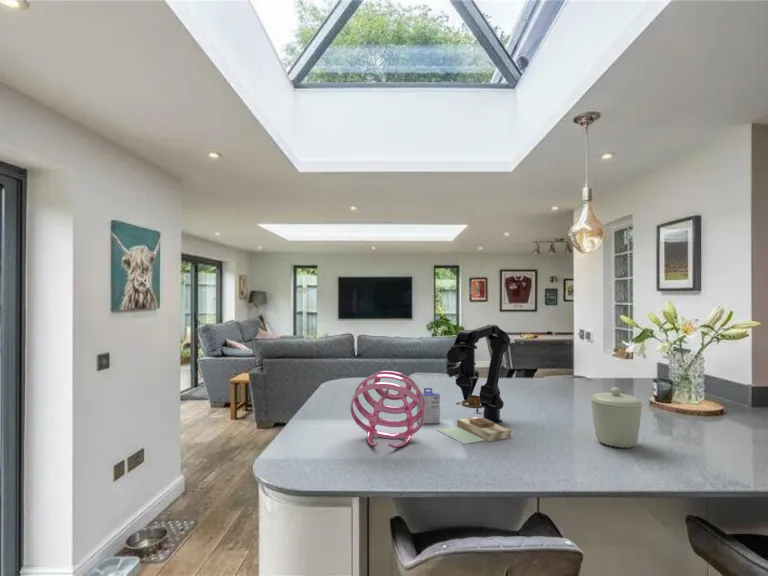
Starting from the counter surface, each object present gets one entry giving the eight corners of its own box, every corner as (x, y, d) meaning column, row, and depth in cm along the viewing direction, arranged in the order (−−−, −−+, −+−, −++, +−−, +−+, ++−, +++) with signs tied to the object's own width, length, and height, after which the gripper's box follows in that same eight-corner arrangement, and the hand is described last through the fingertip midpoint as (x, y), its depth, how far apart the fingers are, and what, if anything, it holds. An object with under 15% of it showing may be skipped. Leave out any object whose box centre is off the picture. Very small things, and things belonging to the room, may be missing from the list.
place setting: (494, 406, 215) (494, 394, 215) (480, 415, 198) (480, 402, 198) (462, 401, 224) (462, 390, 225) (446, 409, 208) (446, 397, 208)
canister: (624, 455, 146) (624, 394, 147) (579, 440, 162) (578, 385, 163) (655, 447, 154) (654, 390, 155) (609, 433, 170) (608, 381, 171)
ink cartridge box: (438, 420, 187) (438, 387, 187) (440, 424, 181) (440, 390, 182) (416, 420, 187) (416, 387, 187) (417, 423, 181) (417, 390, 182)
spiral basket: (405, 405, 134) (413, 349, 157) (329, 418, 144) (347, 363, 166) (433, 460, 147) (437, 401, 170) (361, 468, 156) (374, 411, 179)
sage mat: (457, 427, 176) (457, 426, 176) (485, 440, 160) (485, 439, 160) (437, 430, 172) (437, 429, 172) (464, 444, 156) (464, 443, 156)
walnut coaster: (483, 421, 175) (483, 417, 176) (494, 425, 169) (494, 422, 169) (469, 423, 172) (469, 419, 172) (480, 428, 166) (480, 424, 166)
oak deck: (478, 423, 182) (478, 416, 182) (510, 437, 164) (510, 429, 164) (457, 426, 178) (457, 419, 178) (488, 441, 160) (488, 433, 160)
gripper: (454, 356, 187) (454, 391, 187) (442, 362, 170) (443, 401, 170) (479, 357, 183) (479, 393, 182) (470, 364, 165) (470, 404, 165)
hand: (468, 397), depth 175 cm, fingers open, 9 cm apart
